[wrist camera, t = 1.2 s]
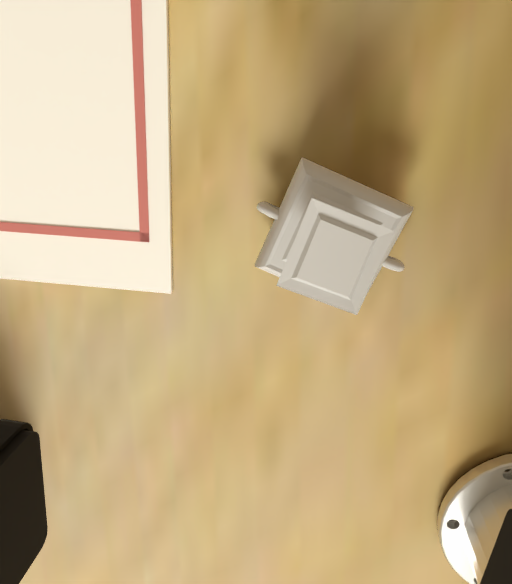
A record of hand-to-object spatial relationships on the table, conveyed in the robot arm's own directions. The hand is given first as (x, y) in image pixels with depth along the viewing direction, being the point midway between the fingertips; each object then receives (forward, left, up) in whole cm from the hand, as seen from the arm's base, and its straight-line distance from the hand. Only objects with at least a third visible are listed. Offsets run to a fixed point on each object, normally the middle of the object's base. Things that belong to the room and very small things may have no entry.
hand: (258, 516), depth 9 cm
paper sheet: (+16, -8, -21) cm, 28 cm away
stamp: (-2, -2, -21) cm, 21 cm away
